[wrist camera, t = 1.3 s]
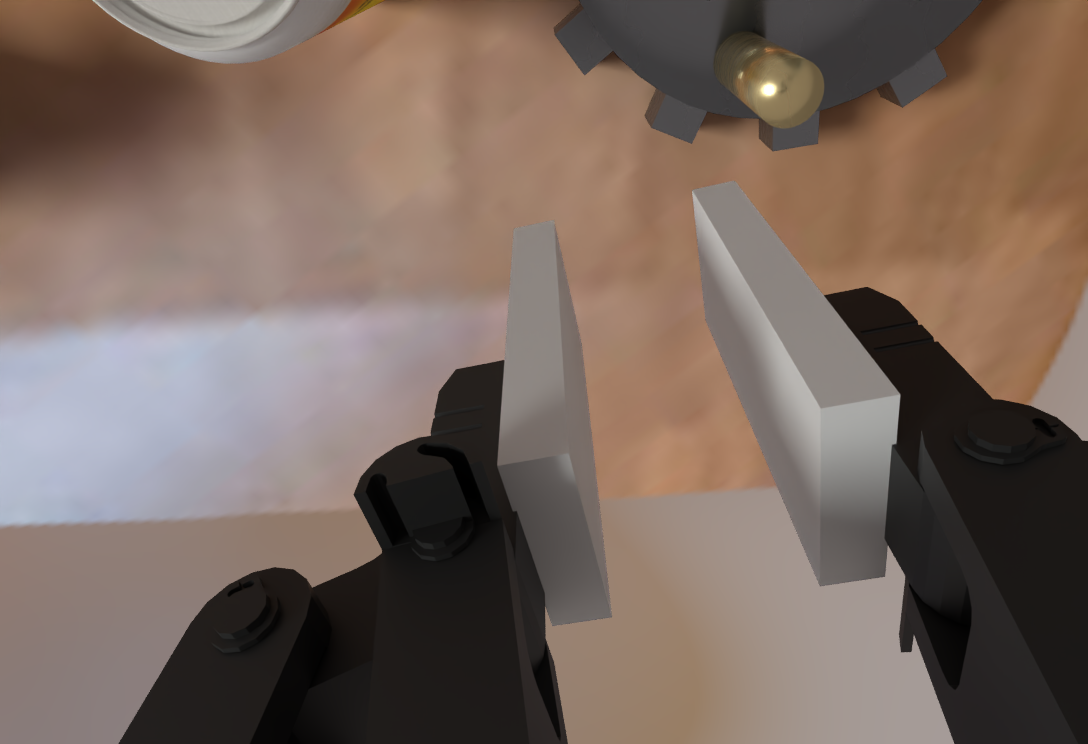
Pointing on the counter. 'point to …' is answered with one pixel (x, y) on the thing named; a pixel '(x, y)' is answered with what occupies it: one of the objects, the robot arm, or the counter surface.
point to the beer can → (232, 24)
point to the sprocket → (765, 56)
